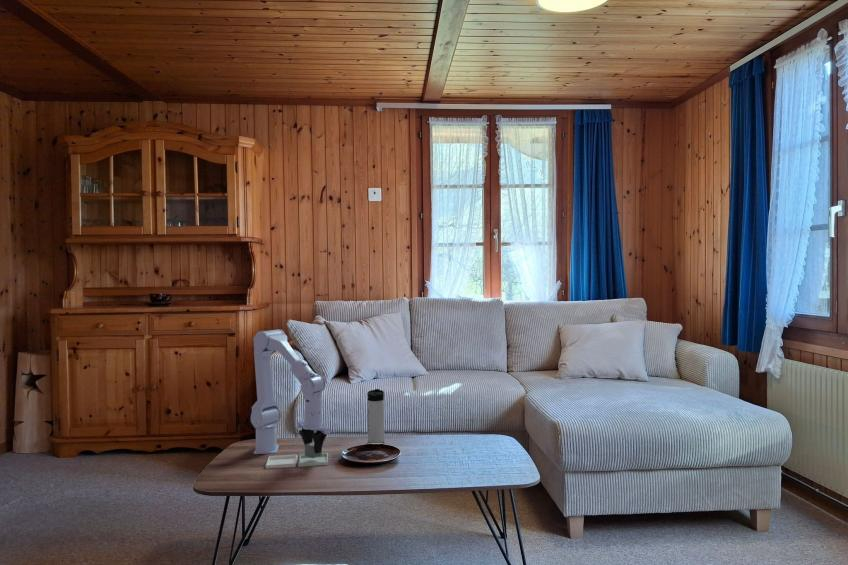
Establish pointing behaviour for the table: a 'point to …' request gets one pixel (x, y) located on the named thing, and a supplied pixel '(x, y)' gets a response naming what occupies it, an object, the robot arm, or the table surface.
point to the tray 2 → (313, 460)
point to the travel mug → (375, 416)
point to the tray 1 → (281, 461)
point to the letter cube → (311, 450)
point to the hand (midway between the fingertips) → (313, 451)
